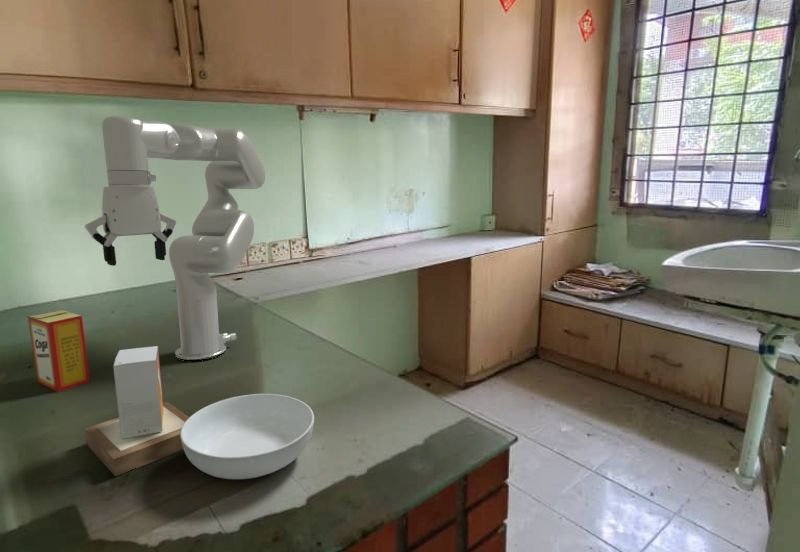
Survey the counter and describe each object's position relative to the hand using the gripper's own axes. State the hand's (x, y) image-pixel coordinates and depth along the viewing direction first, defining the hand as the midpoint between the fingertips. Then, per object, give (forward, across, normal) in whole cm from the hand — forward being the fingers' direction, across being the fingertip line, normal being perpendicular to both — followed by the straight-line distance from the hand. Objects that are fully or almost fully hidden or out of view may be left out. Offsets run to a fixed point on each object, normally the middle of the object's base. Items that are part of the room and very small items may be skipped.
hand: (136, 262), depth 101 cm
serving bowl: (+29, 0, +42) cm, 51 cm away
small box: (+25, +10, +24) cm, 36 cm away
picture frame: (+28, +10, +24) cm, 38 cm away
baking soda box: (+28, +12, -17) cm, 35 cm away
